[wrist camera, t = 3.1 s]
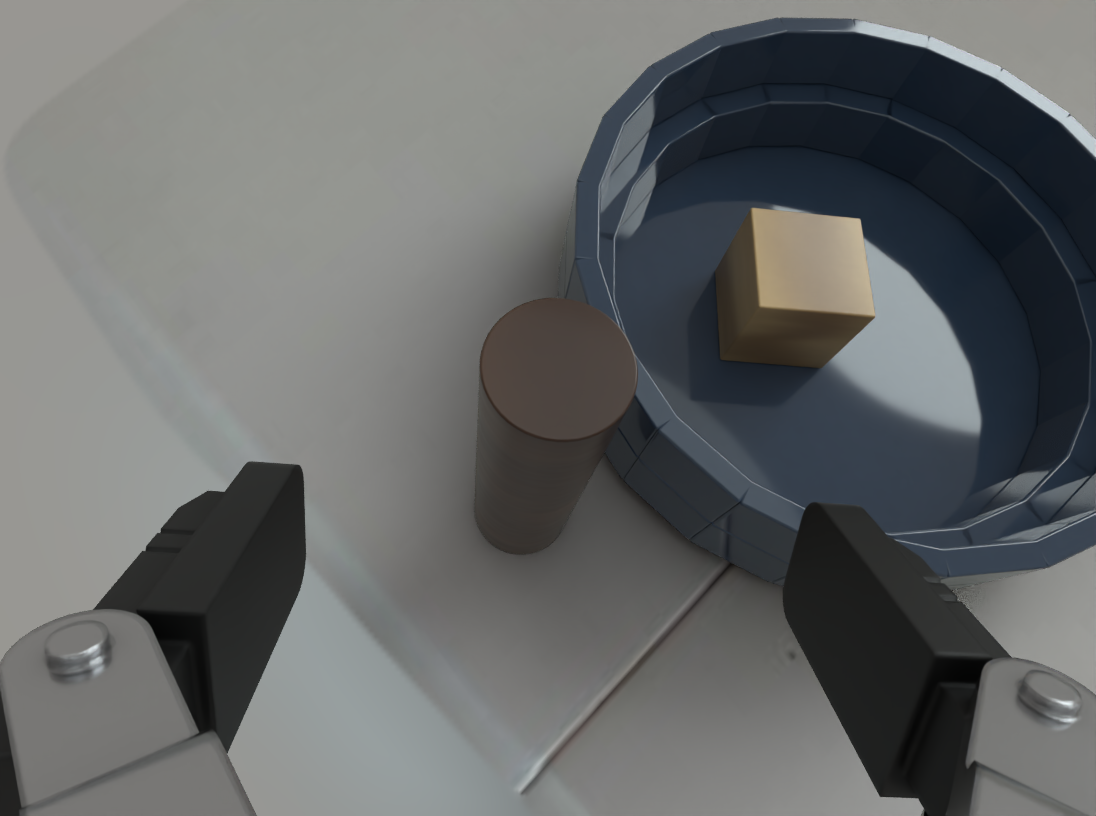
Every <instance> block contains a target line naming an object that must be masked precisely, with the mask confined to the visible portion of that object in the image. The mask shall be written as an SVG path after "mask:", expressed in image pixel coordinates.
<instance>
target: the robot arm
mask: <svg viewBox="0 0 1096 816" xmlns="http://www.w3.org/2000/svg"><path fill="white" fill-rule="evenodd" d="M305 560H306V538H305V506H304V478H303V472H302V468H301V467H300V465H294V464H280V463H265V462H248V463H246V464H245V466H244V467H243V468H242V470H241V471H240V472H239V474H238V475H237V476H236V478H235V479H234V480H233V482H232V483H231V484H230V485H229V487H228V488H227V489H226V491H225V492H218V491H207V492H205V493H204V494H202V495H200V496H198V497H197V498H195V499H193V500H191V501H190V502H188V503H186V504H184V505H183V506H181V507H179V508H178V509H177V510H176V512H175V513H174V514H173V515H172V516H171V518H170V519H169V520H168V521H167V522H166V523H165V525H164V526H163V527H162V528H161V532H160V533H157V534H156V536H155V537H154V538H153V539H152V540H151V541H150V543H149V544H148V545H147V546H146V551H142V552H141V553H140V555H139V556H138V557H137V558H136V559H135V560H134V562H133V563H132V564H131V565H130V566H129V568H128V569H127V570H126V571H125V572H124V574H123V575H122V576H121V577H120V578H119V579H118V581H117V582H116V583H115V584H114V586H113V587H112V588H111V589H110V590H109V591H108V593H107V594H106V595H105V596H104V597H103V598H102V600H101V601H100V602H99V603H98V604H97V606H96V607H95V608H94V609H93V610H89V611H84V612H79V613H74V614H70V615H67V616H64V617H61V618H58V619H55V620H53V621H50V622H48V623H46V624H44V625H42V626H40V627H38V628H36V629H34V630H32V631H31V632H29V633H28V634H27V635H25V636H24V637H22V638H21V639H20V640H19V641H17V642H16V643H15V644H14V645H13V646H12V647H11V648H10V649H9V650H8V651H7V652H6V654H5V655H4V657H3V659H2V660H1V662H0V816H257V815H256V813H255V811H254V809H253V807H252V805H251V803H250V801H249V799H248V797H247V795H246V792H245V790H244V788H243V786H242V784H241V782H240V780H239V778H238V776H237V774H236V772H235V770H234V767H233V766H232V763H231V762H230V759H229V757H228V755H227V753H228V751H229V748H230V746H231V744H232V741H233V739H234V737H235V735H236V733H237V730H238V728H239V726H240V723H241V721H242V719H243V717H244V714H245V712H246V710H247V708H248V706H249V703H250V701H251V699H252V697H253V694H254V692H255V690H256V687H257V685H258V683H259V681H260V679H261V677H262V674H263V672H264V670H265V668H266V665H267V663H268V661H269V659H270V656H271V654H272V652H273V650H274V647H275V645H276V643H277V641H278V638H279V636H280V634H281V632H282V629H283V627H284V625H285V623H286V620H287V618H288V616H289V614H290V611H291V609H292V607H293V604H294V602H295V600H296V598H297V596H298V593H299V591H300V588H301V584H302V580H303V575H304V569H305ZM783 606H784V612H785V616H786V619H787V621H788V624H789V625H790V627H791V629H792V631H793V633H794V635H795V637H796V639H797V641H798V643H799V644H800V646H801V648H802V650H803V652H804V654H805V656H806V658H807V660H808V661H809V663H810V665H811V667H812V669H813V671H814V673H815V675H816V677H817V678H818V680H819V682H820V684H821V686H822V688H823V690H824V692H825V694H826V695H827V697H828V699H829V701H830V703H831V705H832V707H833V709H834V711H835V712H836V714H837V716H838V718H839V720H840V722H841V724H842V726H843V728H844V729H845V731H846V733H847V735H848V737H849V739H850V741H851V743H852V745H853V746H854V748H855V750H856V752H857V754H858V756H859V758H860V760H861V762H862V764H863V765H864V767H865V769H866V771H867V773H868V775H869V777H870V779H871V781H872V782H873V784H874V786H875V788H876V790H877V792H878V794H879V796H880V797H901V798H918V799H919V801H920V803H921V804H922V806H923V808H924V809H923V811H922V814H921V816H1096V695H1095V694H1094V693H1093V692H1091V691H1090V690H1089V689H1087V688H1086V687H1085V686H1083V685H1082V684H1080V683H1079V682H1077V681H1075V680H1074V679H1072V678H1070V677H1069V676H1067V675H1065V674H1063V673H1061V672H1059V671H1057V670H1055V669H1052V668H1050V667H1048V666H1045V665H1042V664H1039V663H1036V662H1033V661H1029V660H1025V659H1019V658H1012V657H1011V656H1010V655H1009V654H1008V653H1007V652H1006V651H1005V650H1004V649H1003V647H1002V646H1001V645H1000V644H999V643H998V642H997V641H996V640H995V639H994V637H993V636H992V635H991V634H990V633H989V632H988V631H987V630H986V629H985V628H984V626H983V625H982V624H981V623H980V622H979V621H978V620H977V619H976V618H975V616H974V615H973V614H972V613H971V612H970V611H969V610H968V609H967V608H966V606H965V605H964V604H963V603H962V602H957V596H956V595H955V594H954V593H953V592H952V591H951V590H950V589H949V588H948V586H947V585H946V584H945V583H941V579H940V578H939V576H938V575H937V574H936V573H935V572H934V571H933V570H932V569H931V568H930V566H929V565H928V564H927V563H926V562H925V561H924V560H923V559H922V558H921V557H920V556H919V555H917V554H916V553H914V552H913V551H911V550H910V549H908V548H907V547H905V546H904V545H902V544H901V543H899V542H898V541H896V540H895V539H893V538H889V537H888V536H887V535H886V534H885V532H884V531H883V530H882V529H881V528H880V527H879V526H878V524H877V523H876V522H875V521H874V520H873V519H872V517H871V516H870V515H869V514H868V513H867V512H866V511H865V509H864V508H862V507H861V506H859V505H848V504H834V503H820V502H812V503H810V504H809V505H808V506H807V507H806V509H805V510H804V513H803V515H802V519H801V522H800V526H799V530H798V533H797V537H796V541H795V544H794V548H793V552H792V555H791V559H790V563H789V566H788V570H787V574H786V577H785V581H784V587H783Z"/></svg>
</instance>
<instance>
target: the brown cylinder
mask: <svg viewBox="0 0 1096 816" xmlns="http://www.w3.org/2000/svg"><path fill="white" fill-rule="evenodd" d="M637 383H638V366H637V361H636V356H635V353H634V350H633V348H632V345H631V343H630V342H629V340H628V338H627V336H626V335H625V333H624V332H623V331H622V329H621V328H620V327H619V326H618V325H617V324H616V323H615V322H614V321H613V320H612V319H611V318H610V317H609V316H607V315H606V314H604V313H603V312H602V311H600V310H598V309H596V308H594V307H593V306H591V305H588V304H585V303H583V302H580V301H576V300H572V299H565V298H544V299H538V300H533V301H530V302H527V303H524V304H522V305H520V306H518V307H516V308H514V309H513V310H511V311H510V312H508V313H506V314H505V315H504V316H503V317H502V318H501V319H499V321H498V322H497V323H496V324H495V325H494V326H493V327H492V329H491V330H490V332H489V333H488V335H487V337H486V339H485V341H484V344H483V347H482V350H481V355H480V364H479V392H478V420H477V448H476V475H475V503H474V512H475V519H476V522H477V525H478V527H479V529H480V531H481V533H482V534H483V536H484V537H485V538H486V539H487V540H488V541H489V542H490V543H491V544H492V545H493V546H495V547H496V548H498V549H500V550H502V551H505V552H508V553H512V554H531V553H535V552H538V551H540V550H542V549H544V548H546V547H547V546H549V545H550V544H551V543H552V542H553V541H554V540H555V539H556V538H557V537H558V536H559V534H560V533H561V531H562V529H563V527H564V525H565V523H566V522H567V520H568V518H569V516H570V514H571V512H572V511H573V509H574V507H575V505H576V503H577V501H578V500H579V498H580V496H581V494H582V492H583V491H584V489H585V487H586V485H587V483H588V481H589V480H590V478H591V476H592V474H593V472H594V470H595V469H596V467H597V465H598V463H599V461H600V459H601V458H602V456H603V454H604V452H605V450H606V448H607V447H608V445H609V443H610V441H611V439H612V437H613V436H614V434H615V432H616V430H617V428H618V427H619V425H620V423H621V421H622V419H623V417H624V416H625V414H626V412H627V410H628V408H629V406H630V405H631V403H632V401H633V398H634V395H635V393H636V388H637Z"/></svg>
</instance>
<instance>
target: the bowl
mask: <svg viewBox="0 0 1096 816" xmlns="http://www.w3.org/2000/svg"><path fill="white" fill-rule="evenodd" d="M751 208H759V209H769V210H779V211H789V212H799V213H809V214H819V215H829V216H839V217H849V218H858V219H860V220H861V225H862V232H863V238H864V245H865V251H866V258H867V264H868V271H869V277H870V284H871V290H872V297H873V303H874V310H875V318H874V319H873V320H872V321H871V322H870V323H869V324H868V325H867V326H866V327H865V328H864V329H863V330H861V331H860V332H859V333H858V334H857V335H856V336H855V337H854V338H853V339H852V340H851V341H850V342H849V343H848V344H847V345H846V346H845V347H844V348H842V349H841V350H840V351H839V352H838V353H837V354H836V355H835V356H834V357H833V358H832V359H831V360H830V361H829V362H828V363H827V364H826V365H824V366H823V367H822V368H812V367H800V366H788V365H776V364H764V363H751V362H739V361H727V360H721V359H720V347H719V330H718V313H717V296H716V278H715V270H716V268H717V266H718V265H719V263H720V261H721V260H722V258H723V256H724V254H725V253H726V251H727V249H728V247H729V246H730V244H731V242H732V240H733V239H734V237H735V235H736V233H737V232H738V230H739V228H740V226H741V225H742V223H743V221H744V219H745V218H746V216H747V214H748V212H749V211H750V209H751ZM558 298H565V299H572V300H576V301H580V302H583V303H585V304H588V305H591V306H593V307H594V308H596V309H598V310H600V311H602V312H603V313H604V314H606V315H607V316H609V317H610V318H611V319H612V320H613V321H614V322H615V323H616V324H617V325H618V326H619V327H620V328H621V329H622V331H623V332H624V333H625V335H626V336H627V338H628V340H629V342H630V343H631V345H632V348H633V350H634V353H635V356H636V361H637V366H638V383H637V388H636V393H635V395H634V398H633V401H632V403H631V405H630V406H629V408H628V410H627V412H626V414H625V416H624V417H623V419H622V421H621V423H620V425H619V427H618V428H617V430H616V432H615V434H614V436H613V437H612V439H611V441H610V443H609V445H608V447H607V448H606V450H605V453H606V455H607V457H608V458H609V460H610V461H611V463H612V464H613V466H614V468H615V469H616V471H617V472H618V474H619V476H620V477H621V478H622V479H624V481H625V482H626V483H627V484H628V485H629V486H630V487H631V488H632V489H633V490H634V491H635V492H637V493H638V494H639V495H640V496H641V497H642V498H643V499H644V500H645V501H646V502H648V503H649V504H650V505H651V506H652V507H653V508H654V509H655V510H656V511H657V512H658V513H660V514H661V515H662V516H663V517H664V518H665V519H666V520H667V521H668V522H669V523H670V524H672V525H673V526H674V527H675V528H676V529H677V530H678V531H679V532H680V533H681V534H683V535H684V536H685V537H686V538H687V539H690V541H691V542H693V543H694V544H696V545H698V546H700V547H702V548H704V549H706V550H708V551H710V552H712V553H714V554H716V555H718V556H720V557H722V558H723V559H725V560H727V561H729V562H731V563H733V564H735V565H737V566H739V567H741V568H743V569H745V570H747V571H749V572H750V573H752V574H754V575H756V576H758V577H760V578H762V579H764V580H766V581H768V582H771V583H773V584H777V585H782V586H784V581H785V577H786V574H787V570H788V566H789V563H790V559H791V555H792V552H793V548H794V544H795V541H796V537H797V533H798V530H799V526H800V522H801V519H802V515H803V513H804V510H805V509H806V507H807V506H808V505H809V504H810V503H812V502H820V503H834V504H848V505H859V506H861V507H862V508H864V509H865V511H866V512H867V513H868V514H869V515H870V516H871V517H872V519H873V520H874V521H875V522H876V523H877V524H878V526H879V527H880V528H881V529H882V530H883V531H884V532H885V534H886V535H887V536H888V537H889V538H893V539H895V540H896V541H898V542H899V543H901V544H902V545H904V546H905V547H907V548H908V549H910V550H911V551H913V552H914V553H916V554H917V555H919V556H920V557H921V558H922V559H923V560H924V561H925V562H926V563H927V564H928V565H929V566H930V568H931V569H932V570H933V571H934V572H935V573H936V574H937V575H938V576H939V578H940V579H941V583H945V584H946V585H947V586H948V588H949V589H950V590H955V589H959V588H963V587H968V586H972V585H976V584H981V583H984V582H990V581H994V580H998V579H1003V578H1007V577H1011V576H1016V575H1020V574H1024V573H1028V572H1033V571H1037V570H1041V569H1045V568H1049V567H1051V566H1053V565H1055V564H1058V563H1060V562H1062V561H1064V560H1066V559H1068V558H1070V557H1072V556H1074V555H1076V554H1078V553H1080V552H1082V551H1084V550H1087V549H1089V548H1091V547H1093V546H1095V545H1096V139H1095V138H1094V137H1093V136H1092V135H1091V134H1090V133H1089V132H1088V131H1087V130H1086V129H1085V128H1084V127H1083V126H1082V125H1081V124H1080V123H1079V122H1078V121H1077V120H1076V119H1075V118H1074V117H1073V116H1072V115H1070V113H1069V112H1067V111H1066V110H1064V109H1063V108H1061V107H1060V106H1058V105H1057V104H1055V103H1054V102H1052V101H1051V100H1050V99H1048V98H1047V97H1045V96H1044V95H1042V94H1041V93H1039V92H1038V91H1036V90H1035V89H1033V88H1032V87H1030V86H1029V85H1027V84H1026V83H1024V82H1023V81H1021V80H1020V79H1019V78H1017V77H1016V76H1014V75H1013V74H1011V73H1010V72H1008V71H1007V70H1005V69H1002V67H1000V66H998V65H995V64H993V63H991V62H988V61H986V60H984V59H982V58H979V57H977V56H975V55H972V54H970V53H968V52H966V51H963V50H961V49H959V48H956V47H954V46H952V45H950V44H947V43H945V42H943V41H940V40H938V39H936V38H934V37H931V36H928V35H924V34H919V33H915V32H911V31H906V30H902V29H897V28H893V27H889V26H884V25H880V24H875V23H871V22H867V21H862V20H858V19H853V20H852V19H837V18H773V19H769V20H764V21H760V22H755V23H751V24H746V25H742V26H737V27H733V28H728V29H724V30H719V31H715V32H711V33H710V34H707V35H705V36H703V37H701V38H700V39H698V40H696V41H694V42H692V43H690V44H689V45H687V46H685V47H683V48H681V49H679V50H678V51H676V52H674V53H672V54H670V55H668V56H667V57H665V58H663V59H661V60H659V61H657V62H656V63H654V64H652V65H651V66H649V67H648V68H647V69H646V70H645V71H644V72H643V73H642V74H641V76H640V77H639V78H638V79H637V80H636V81H635V82H634V83H633V84H632V85H631V86H630V87H629V89H628V90H627V91H626V92H625V93H624V94H623V95H622V96H621V97H620V98H619V99H618V100H617V101H616V103H615V104H614V105H613V106H612V107H611V108H610V109H609V110H608V111H607V112H606V113H605V114H604V116H603V117H602V120H601V122H600V125H599V127H598V130H597V132H596V135H595V137H594V139H593V142H592V144H591V147H590V149H589V152H588V154H587V157H586V159H585V162H584V164H583V166H582V169H581V171H580V174H579V176H578V179H577V182H576V187H575V192H574V197H573V202H572V206H571V211H570V216H569V221H568V226H567V230H566V235H565V240H564V245H563V249H562V254H561V259H560V264H559V274H558Z"/></svg>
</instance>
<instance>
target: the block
mask: <svg viewBox="0 0 1096 816" xmlns="http://www.w3.org/2000/svg"><path fill="white" fill-rule="evenodd" d="M715 278H716V296H717V313H718V330H719V347H720V359H721V360H727V361H739V362H751V363H764V364H776V365H788V366H800V367H812V368H822V367H823V366H824V365H826V364H827V363H828V362H829V361H830V360H831V359H832V358H833V357H834V356H835V355H836V354H837V353H838V352H839V351H840V350H841V349H842V348H844V347H845V346H846V345H847V344H848V343H849V342H850V341H851V340H852V339H853V338H854V337H855V336H856V335H857V334H858V333H859V332H860V331H861V330H863V329H864V328H865V327H866V326H867V325H868V324H869V323H870V322H871V321H872V320H873V319H874V318H875V310H874V303H873V297H872V290H871V284H870V277H869V271H868V264H867V258H866V251H865V245H864V238H863V232H862V225H861V220H860V219H858V218H849V217H839V216H829V215H819V214H809V213H799V212H789V211H779V210H769V209H759V208H751V209H750V211H749V212H748V214H747V216H746V218H745V219H744V221H743V223H742V225H741V226H740V228H739V230H738V232H737V233H736V235H735V237H734V239H733V240H732V242H731V244H730V246H729V247H728V249H727V251H726V253H725V254H724V256H723V258H722V260H721V261H720V263H719V265H718V266H717V268H716V270H715Z"/></svg>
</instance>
